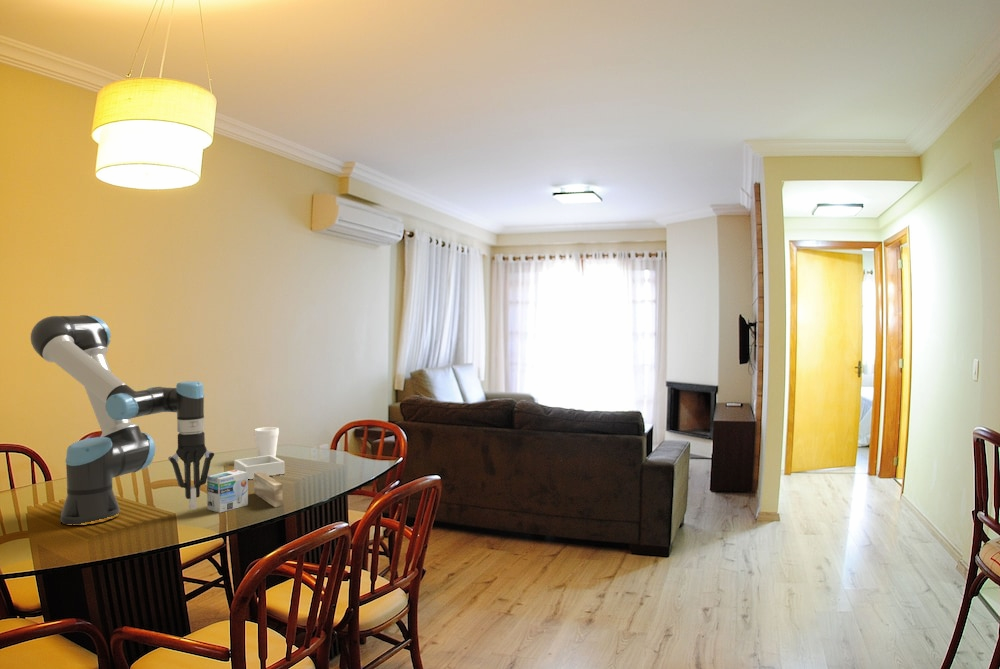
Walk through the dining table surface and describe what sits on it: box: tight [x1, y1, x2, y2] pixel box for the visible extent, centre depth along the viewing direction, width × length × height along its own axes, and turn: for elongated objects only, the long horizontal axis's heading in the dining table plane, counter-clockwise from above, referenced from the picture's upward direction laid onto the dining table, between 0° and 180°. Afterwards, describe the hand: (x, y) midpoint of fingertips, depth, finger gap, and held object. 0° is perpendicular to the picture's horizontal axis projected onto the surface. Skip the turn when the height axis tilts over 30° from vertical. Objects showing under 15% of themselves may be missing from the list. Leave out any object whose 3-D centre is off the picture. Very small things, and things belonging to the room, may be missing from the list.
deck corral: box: [233, 455, 286, 480], centre depth 256 cm, size 14×14×5 cm
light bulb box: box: [206, 469, 249, 514], centre depth 213 cm, size 11×7×11 cm, turn 148°
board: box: [253, 472, 284, 508], centre depth 222 cm, size 2×20×7 cm, turn 38°
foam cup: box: [254, 426, 280, 457], centre depth 279 cm, size 10×9×13 cm
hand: (192, 508), depth 207 cm, fingers closed
